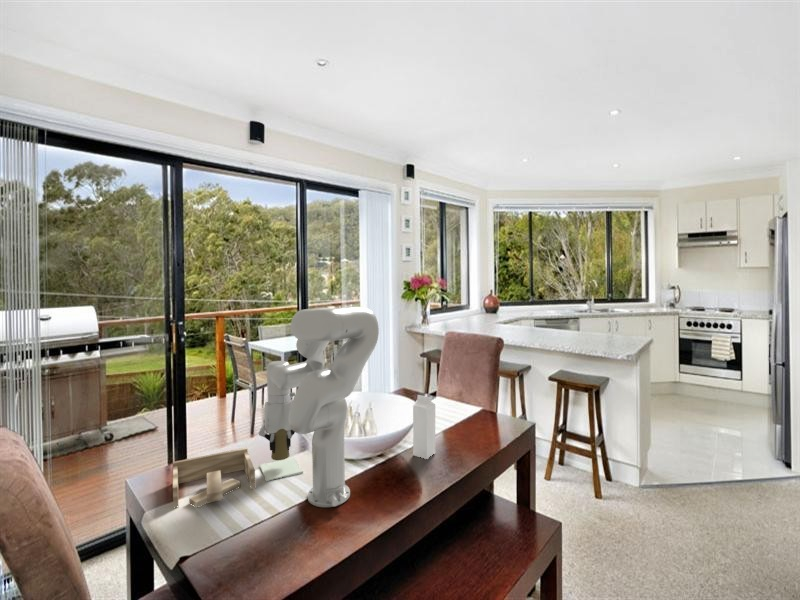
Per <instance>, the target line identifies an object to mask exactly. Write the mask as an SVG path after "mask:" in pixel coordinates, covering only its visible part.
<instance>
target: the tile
mask: <svg viewBox="0 0 800 600" xmlns="http://www.w3.org/2000/svg"><path fill="white" fill-rule="evenodd" d="M259 468H260V470H261V472H263V473H262V475H263V477H265V478H264V479H266V480H265V482H266V481H268V482H270V481H269V480H272V481H274V480H273V479H276V480H279V479H278V478H280V479H283V478H282V477H285V478H287V477H286V476H289V477H292V476H291V475H293V476H296V475H295V474H297V475H300V474H299V473H301V474H304V470H303V468H302V467H301V466H300V464H299V463H298V461H297V459H296V458H295V456H293V457H288V458H286V459H284V460H274V461H270V462H267V463H262V464H259Z"/></svg>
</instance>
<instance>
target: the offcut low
mask: <svg viewBox="0 0 800 600" xmlns="http://www.w3.org/2000/svg"><path fill="white" fill-rule="evenodd" d="M238 487H240V488H241V481H240V480H237V479H235V478H229V479H228V480H225V481H224V482H222V495H223V496H225V495H227V494H229V493H231V492H233V491H235V490H234V489H236V488H238ZM238 489H239V488H238ZM232 490H233V491H232ZM236 490H237V489H236ZM230 491H231V492H230ZM228 492H229V493H228ZM226 493H227V494H226ZM224 494H225V495H224ZM188 500H189V501H188V502H189V503H190V504H192V505H194V506H195V507H198V506H201V505H203V506H205V505H206V504H205V503H207V489H206V490H204V491H202V492H199V493H198V494H195V495H193V496H190V497H188ZM190 504H189V505H190ZM204 504H205V505H204ZM207 504H208V503H207ZM192 505H191V506H192ZM194 506H193V507H194ZM195 507H194V508H195ZM201 507H202V506H201Z"/></svg>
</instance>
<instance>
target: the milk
mask: <svg viewBox="0 0 800 600" xmlns="http://www.w3.org/2000/svg"><path fill="white" fill-rule="evenodd" d="M412 410H413V411H412V417H413V418H412V422H413V423H412V427H413V428H412V432H413V434H412V436H413V437H412V445H413V446H412V448H413V449H412V452H413V453H412V456H413V457H414V456H415V457H416V458H417V457H418V458H420V457H421V458H420V459H423V458H424V460H426V459H427V460H428V459H430V458H431V457H433V456H434V455H435V454H436V403H435V402H432V397H430V396H425V395H419V394H417V399H416V401H415V402H414V403H413V405H412ZM433 454H434V455H433ZM432 455H433V456H432ZM430 456H431V457H430ZM429 457H430V458H429Z"/></svg>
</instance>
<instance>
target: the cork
mask: <svg viewBox="0 0 800 600" xmlns="http://www.w3.org/2000/svg"><path fill="white" fill-rule="evenodd" d="M274 434H275V435H274V441H275V453H273V452H272V451H271V460H273V461H279V460H284V459H288V458H290V449H289V450H288V448H287V436H286V434H287V431H286V430H285V429H280V430H278V431H277V432H276V433H274Z"/></svg>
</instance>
